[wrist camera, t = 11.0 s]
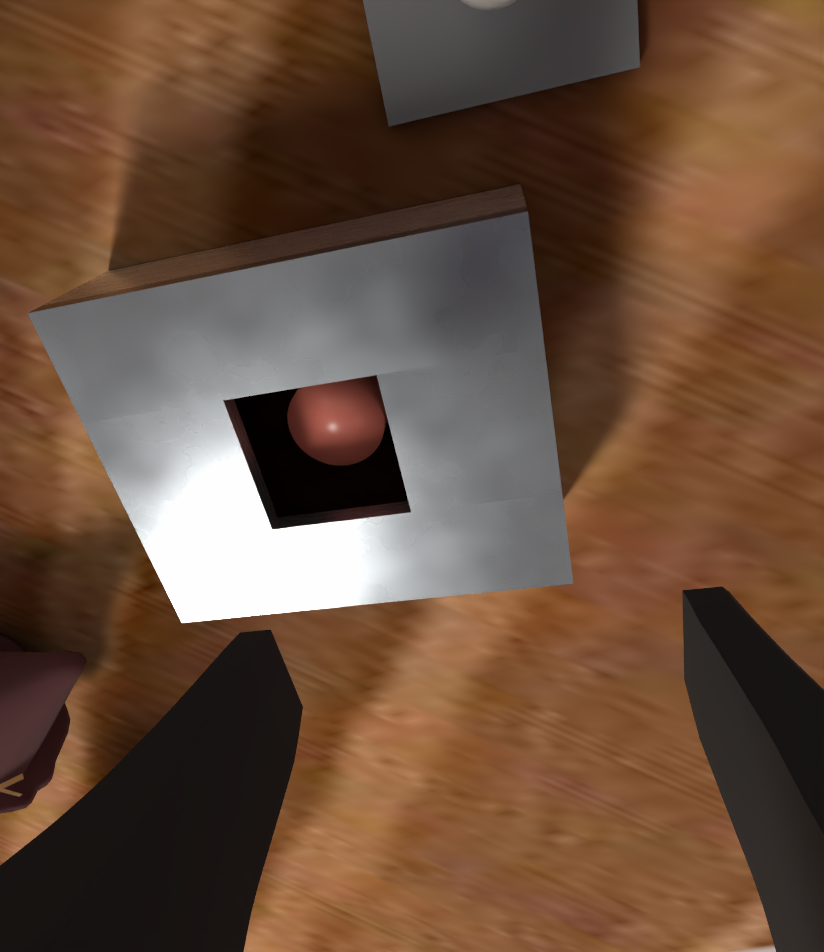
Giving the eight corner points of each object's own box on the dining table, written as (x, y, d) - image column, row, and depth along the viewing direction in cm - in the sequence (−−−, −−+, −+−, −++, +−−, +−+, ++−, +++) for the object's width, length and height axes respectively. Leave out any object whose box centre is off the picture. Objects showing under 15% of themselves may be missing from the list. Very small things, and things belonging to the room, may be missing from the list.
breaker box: (520, 184, 18) (528, 211, 14) (560, 505, 22) (572, 583, 19) (107, 271, 20) (27, 313, 16) (224, 546, 25) (181, 622, 21)
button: (379, 349, 20) (371, 369, 19) (399, 433, 21) (393, 458, 20) (288, 364, 20) (274, 385, 19) (315, 446, 22) (303, 471, 20)
